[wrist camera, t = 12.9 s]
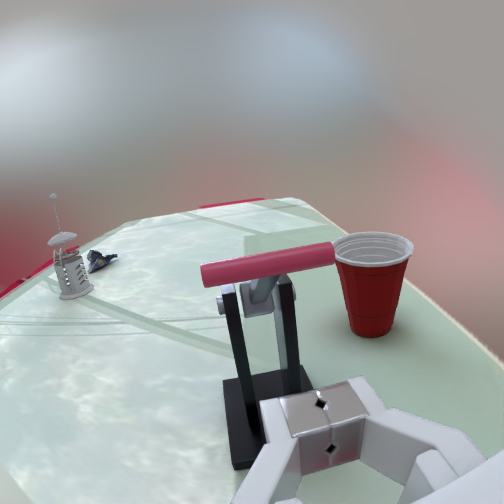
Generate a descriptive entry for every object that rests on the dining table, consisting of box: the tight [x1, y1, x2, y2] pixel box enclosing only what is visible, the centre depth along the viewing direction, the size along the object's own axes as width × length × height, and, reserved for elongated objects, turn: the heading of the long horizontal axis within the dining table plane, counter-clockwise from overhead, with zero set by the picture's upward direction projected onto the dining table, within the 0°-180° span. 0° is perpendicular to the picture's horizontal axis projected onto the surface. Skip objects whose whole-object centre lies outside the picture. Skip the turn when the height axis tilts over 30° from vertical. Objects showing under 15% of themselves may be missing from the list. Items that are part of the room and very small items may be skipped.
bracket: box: [216, 274, 314, 470], centre depth 27 cm, size 12×9×15 cm
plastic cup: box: [332, 232, 414, 338], centre depth 40 cm, size 11×11×12 cm
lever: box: [200, 242, 335, 318], centre depth 20 cm, size 13×6×2 cm
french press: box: [48, 194, 94, 300], centre depth 68 cm, size 10×12×25 cm
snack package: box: [87, 250, 117, 273], centre depth 92 cm, size 12×6×12 cm
